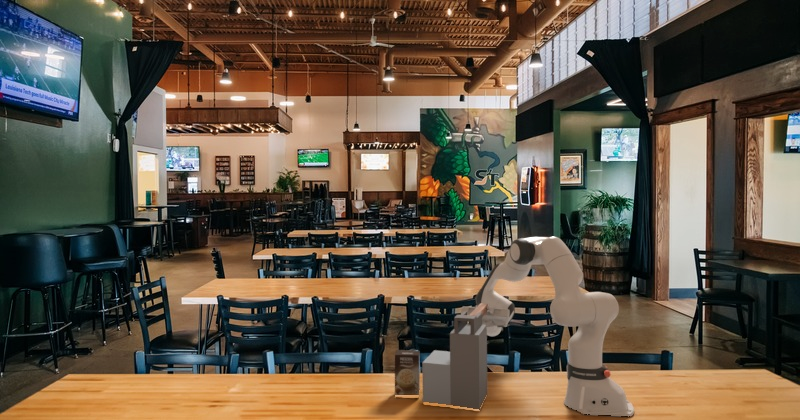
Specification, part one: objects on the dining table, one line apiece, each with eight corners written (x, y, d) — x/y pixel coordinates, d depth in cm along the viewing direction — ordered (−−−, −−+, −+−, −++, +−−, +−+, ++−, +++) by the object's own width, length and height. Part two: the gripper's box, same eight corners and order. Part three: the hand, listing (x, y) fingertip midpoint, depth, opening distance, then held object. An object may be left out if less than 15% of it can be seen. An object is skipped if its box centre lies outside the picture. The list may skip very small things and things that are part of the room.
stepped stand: (487, 395, 190) (486, 309, 190) (479, 411, 175) (478, 319, 175) (434, 389, 197) (433, 307, 196) (422, 405, 181) (421, 315, 181)
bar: (487, 310, 214) (487, 303, 214) (477, 323, 192) (477, 315, 191) (480, 310, 215) (480, 303, 215) (469, 323, 192) (469, 315, 192)
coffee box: (394, 398, 188) (393, 354, 188) (395, 392, 194) (395, 349, 194) (419, 399, 187) (418, 355, 187) (420, 392, 193) (419, 350, 193)
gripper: (464, 309, 227) (458, 299, 216) (511, 312, 221) (508, 301, 209) (463, 323, 224) (456, 313, 213) (510, 327, 218) (507, 316, 206)
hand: (482, 307), depth 211 cm, fingers closed on bar, 3 cm apart
